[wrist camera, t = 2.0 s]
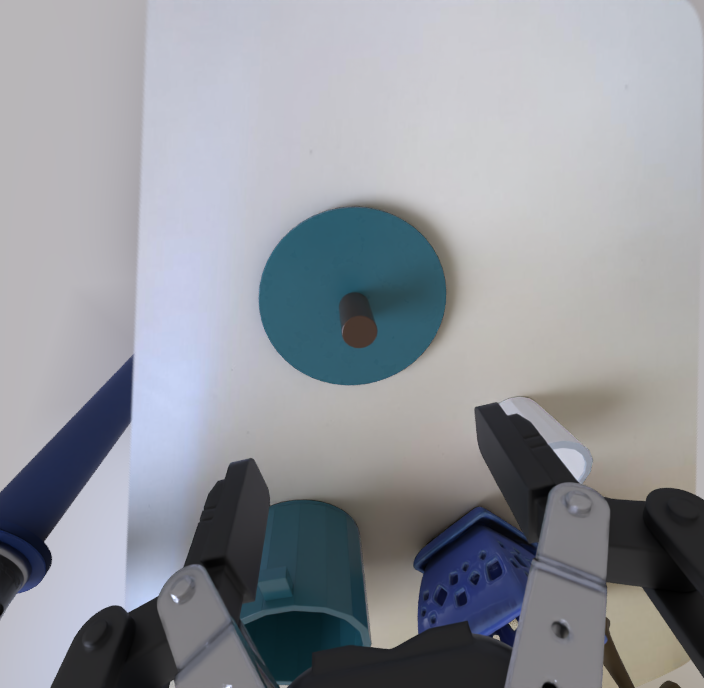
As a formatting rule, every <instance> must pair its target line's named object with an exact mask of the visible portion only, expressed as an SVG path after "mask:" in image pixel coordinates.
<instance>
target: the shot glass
mask: <svg viewBox="0 0 704 688" xmlns="http://www.w3.org/2000/svg"><path fill="white" fill-rule="evenodd" d="M499 405H500V406H501V408H502V409H503V410H504V412H505V413H506V414H507V415H512V414H516V413H517V414H519V415H521V416H522V417H524V418H525V419H527V420H529V421H530V422H531V423H532V424H533V425H534V426H535V428H536V429H537V430H538V432H539V433H540V435H542V437H543V438H544V439H545V440H546V442H547V444H548V445H550V447H551V448H552V449H553V451H554V452H555V453H556V454H557V456H558V457H559V458H560V459H561V461H562V462H563V463H564V464H565V466H566V467H567V468H568V470H569V471H570V472H571V473H572V475H573V476H574V477H575V478H576V480H577V481H578V482H579V483H580V484H582V483H583V482H584V480H585V479H586V478H587V476H588V475H589V473H590V472H591V468H592V463H593V459H592V456H591V454H590V451H589V449H588V448H586V447H585V446H584V445H583V444H582V443H581V442H580V441H579V440H578V439H576V438H575V437H574V436H573V435H572V434H571V433H570V432H569V431H568V430H566V429H565V428H564V427H563V426H562V425H561V424H560V423H559V422H558V421H556V420H555V419H554V418H553V417H552V416H551V415H550V414H549V413H548V412H546V411H545V410H544V409H543V408H542V407H541V406H540V405H539V404H538V403H536V402H535V401H533V400H532V399H530V398H526V397H514V398H509V399H507V400H505V401H503V402H501V403H499Z"/></svg>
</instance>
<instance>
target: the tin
mask: <svg viewBox="0 0 704 688" xmlns="http://www.w3.org/2000/svg"><path fill="white" fill-rule="evenodd" d="M240 618H241V620H242V622H243V623H244V625H245V627H246V629H247V631H248V633H249V634H250V636H251V638H252V640H253V642H254V643H255V645H256V647H257V649H258V651H259V653H260V654H261V656H262V658H263V660H264V662H265V664H266V665H267V667H268V669H269V671H270V672H271V674H272V676H273V677H274V679H275V681H276V682H277V684H278V685H290V684H291V683H292V682H293V681H294V680H295V679H296V678H297V677H298V676H299V675H301V674H302V673H303V672H305V671H306V670H307V669H309V668H311V667H312V652H317V651H322V650H327V649H332V648H336V647H341V646H346V645H356V646H365V647H371V644H372V643H371V633H370V623H369V613H368V604H367V594H366V584H365V574H364V565H363V555H362V545H361V539H360V533H359V529H358V526H357V524H356V523H355V521H354V520H353V519H352V517H351V516H349V515H348V514H347V513H346V512H344V511H343V510H341V509H340V508H338V507H336V506H333V505H330V504H328V503H324V502H319V501H313V500H293V501H286V502H282V503H278V504H275V505H272V506H270V507H269V513H268V519H267V526H266V532H265V539H264V545H263V552H262V558H261V565H260V571H259V578H258V584H257V591H256V597H255V601H254V602H249V603H244V604H242V607H241V613H240Z"/></svg>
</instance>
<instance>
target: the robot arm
mask: <svg viewBox="0 0 704 688" xmlns="http://www.w3.org/2000/svg"><path fill="white" fill-rule="evenodd" d="M475 421H476V431H477V441H478V445H479V449H480V452H481V454H482V457H483V459H484V460H485V462H486V464H487V466H488V468H489V470H490V472H491V474H492V475H493V477H494V479H495V481H496V483H497V485H498V487H499V488H500V490H501V492H502V494H503V496H504V498H505V500H506V502H507V503H508V505H509V507H510V509H511V511H512V513H513V515H514V517H515V518H516V520H517V522H518V524H519V526H520V528H521V530H522V531H523V533H524V535H525V537H526V539H527V541H528V543H529V544H531V543H536V542H539V543H538V548H537V552H536V556H535V558H533V560H532V563H531V566H530V571H529V575H528V580H527V585H526V589H525V594H524V599H523V603H522V608H521V613H520V617H519V622H518V627H517V631H516V636H515V641H514V645H513V648H512V647H511V646H509V645H507V644H505V643H503V642H502V641H499V640H497V639H494V638H492V637H489V636H485V635H481V634H474V633H471V630H470V627H469V623H468V620H467V621H463V622H458V623H453V624H448V625H443V626H438V627H433V628H429V629H427V630H425V631H423V632H422V633H420V634H418V635H416V636H414V637H413V638H411V639H409V640H407V641H406V642H404V643H402V644H400V645H398V646H397V647H395V648H392V649H381V648H373V647H365V646H356V645H346V646H341V647H336V648H332V649H327V650H322V651H317V652H312V667H311V668H309V669H307V670H306V671H305V672H303V673H302V674H301V675H299V676H298V677H297V678H296V679H295V680H294V681H293V682H292V683H291V684H290V685H289V686H288V687H287V688H602V675H603V657H604V640H605V622H606V604H607V586H606V582H610V583H617V584H625V585H632V586H639V587H642V588H643V589H644V591H645V592H646V594H647V595H648V597H649V598H650V600H651V601H652V602H653V604H654V605H655V607H656V608H657V610H658V611H659V613H660V614H661V616H662V617H663V619H664V620H665V622H666V623H667V625H668V626H669V628H670V629H671V631H672V632H673V633H674V635H675V636H676V638H677V639H678V641H679V642H680V644H681V645H682V647H683V648H684V650H685V651H686V653H687V654H688V656H689V657H690V659H691V660H692V661H693V663H694V664H695V666H696V667H697V669H698V670H699V671H700V673H701V675H702V676H703V678H704V500H703V499H701V498H700V497H698V496H696V495H694V494H692V493H689V492H687V491H684V490H680V489H674V488H660V489H656V490H654V491H652V492H651V493H649V494H648V496H647V498H646V501H632V500H618V499H611V498H606V497H603V496H602V495H601V494H600V493H598V492H597V491H596V490H594V489H592V488H590V487H588V486H586V485H583V484H580V483H579V482H578V481H577V480H576V478H575V477H574V476H573V475H572V473H571V472H570V471H569V470H568V468H567V467H566V466H565V464H564V463H563V462H562V461H561V459H560V458H559V457H558V456H557V454H556V453H555V452H554V451H553V449H552V448H551V447H550V445H548V444H547V442H546V440H545V439H544V438H543V437H542V435H540V433H539V432H538V430H537V429H536V428H535V426H534V425H533V424H532V423H531V422H530V421H529V420H527V419H525V418H524V417H522V416H521V415H519V414H517V413H516V414H512V415H507V414H506V413H505V412H504V410H503V409H502V408H501V406H500V405H499V404H498V403H497V402H495V403H491V404H486V405H482V406H478V407H475ZM269 506H270V496H269V490H268V487H267V485H266V483H265V481H264V479H263V477H262V475H261V473H260V471H259V468H258V466H257V464H256V462H255V461H254V459H252V458H249V459H245V460H241V461H236V462H232V463H230V465H229V467H228V470H227V473H226V477H225V479H224V480H220V481H218V482H217V483H216V484H215V486H214V487H213V489H212V490H211V491H210V493H209V494H208V497H207V500H206V503H205V506H204V511H202V514H201V517H200V522H199V523H198V526H197V529H196V532H195V535H194V538H193V541H192V544H191V547H190V550H189V553H188V555H187V558H186V561H185V564H184V567H183V568H182V569H180V570H179V571H177V572H176V573H175V574H174V575H172V576H171V577H170V578H169V580H168V581H167V582H166V583H165V585H164V586H163V588H162V590H161V592H160V594H159V596H158V597H156V598H154V599H153V600H151V601H149V602H147V603H145V604H143V605H142V606H140V607H138V608H136V609H134V610H132V611H131V612H129V613H127V612H126V611H125V610H124V609H123V608H122V607H121V606H110V607H107V608H105V609H103V610H101V611H99V612H98V613H96V614H95V615H94V616H92V617H91V618H90V619H89V620H88V621H87V622H86V623H85V624H84V625H83V626H82V628H81V629H80V630H79V631H78V633H77V634H76V636H75V638H74V640H73V641H72V644H71V646H70V648H69V650H68V652H67V654H66V656H65V658H64V660H63V662H62V664H61V667H60V669H59V671H58V673H57V675H56V677H55V679H54V681H53V683H52V685H51V688H169V685H170V681H172V680H174V683H175V687H176V688H280V687H279V685H278V684H277V682H276V681H275V679H274V677H273V676H272V674H271V672H270V671H269V669H268V667H267V665H266V664H265V662H264V660H263V658H262V656H261V654H260V653H259V651H258V649H257V647H256V645H255V643H254V642H253V640H252V638H251V636H250V634H249V633H248V631H247V629H246V627H245V625H244V623H243V622H242V620H241V618H240V613H241V607H242V604H244V603H249V602H254V601H255V597H256V591H257V584H258V578H259V571H260V565H261V558H262V552H263V545H264V539H265V532H266V526H267V519H268V513H269ZM31 572H32V569H31V565H30V562H29V561H28V559H27V558H26V557H25V556H24V555H23V554H22V553H21V552H20V551H18V550H17V549H15V548H14V547H12V546H10V545H8V544H6V543H3V542H1V541H0V619H1V618H2V616H3V614H4V613H5V611H6V609H7V607H8V606H9V604H10V603H11V601H12V600H13V598H14V597H15V596H16V594H17V593H18V591H19V590H21V589H22V587H23V586H24V584H25V583H26V582H27V580H28V579H29V577H30V575H31Z"/></svg>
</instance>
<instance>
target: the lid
mask: <svg viewBox="0 0 704 688" xmlns="http://www.w3.org/2000/svg"><path fill="white" fill-rule="evenodd" d="M445 305H446V283H445V277H444V273H443V269H442V266H441V264H440V261H439V259H438V256H437V255H436V253H435V251H434V249H433V248H432V246H431V245H430V244H429V242H428V241H427V240H426V239H425V237H424V236H423V235H422V234H421V233H420V232H418V231H417V230H416V229H415V228H414V227H413V226H411V225H410V224H408V223H407V222H406V221H404V220H402V219H400V218H399V217H397V216H395V215H393V214H390V213H387V212H384V211H381V210H378V209H373V208H367V207H343V208H336V209H332V210H328V211H324V212H322V213H319V214H317V215H314V216H312V217H310V218H308V219H307V220H305V221H303V222H301V223H300V224H299V225H297V226H296V227H295V228H293V229H292V230H291V231H290V232H289V233H288V234H287V235H286V236H285V237H284V238H283V239H282V240H281V241H280V242H279V243H278V245H277V246H276V247H275V249H274V250H273V252H272V254H271V256H270V257H269V259H268V261H267V263H266V266H265V268H264V271H263V274H262V278H261V282H260V287H259V310H260V315H261V320H262V323H263V326H264V329H265V332H266V334H267V336H268V338H269V340H270V342H271V343H272V345H273V346H274V347H275V349H276V350H277V352H278V353H279V354H280V355H281V356H282V357H283V358H284V359H285V360H286V361H287V362H288V363H289V364H291V365H292V366H293V367H294V368H296V369H297V370H299V371H300V372H302V373H304V374H306V375H308V376H310V377H312V378H315V379H317V380H320V381H323V382H328V383H332V384H339V385H360V384H368V383H372V382H377V381H380V380H383V379H386V378H388V377H390V376H392V375H395V374H397V373H398V372H400V371H402V370H403V369H405V368H406V367H408V366H409V365H410V364H412V363H413V362H414V361H415V360H416V359H417V358H418V357H419V356H420V355H422V354H423V352H424V351H425V350H426V349H427V347H428V346H429V345H430V343H431V342H432V340H433V339H434V337H435V335H436V333H437V331H438V329H439V327H440V324H441V321H442V318H443V315H444V310H445Z"/></svg>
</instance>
